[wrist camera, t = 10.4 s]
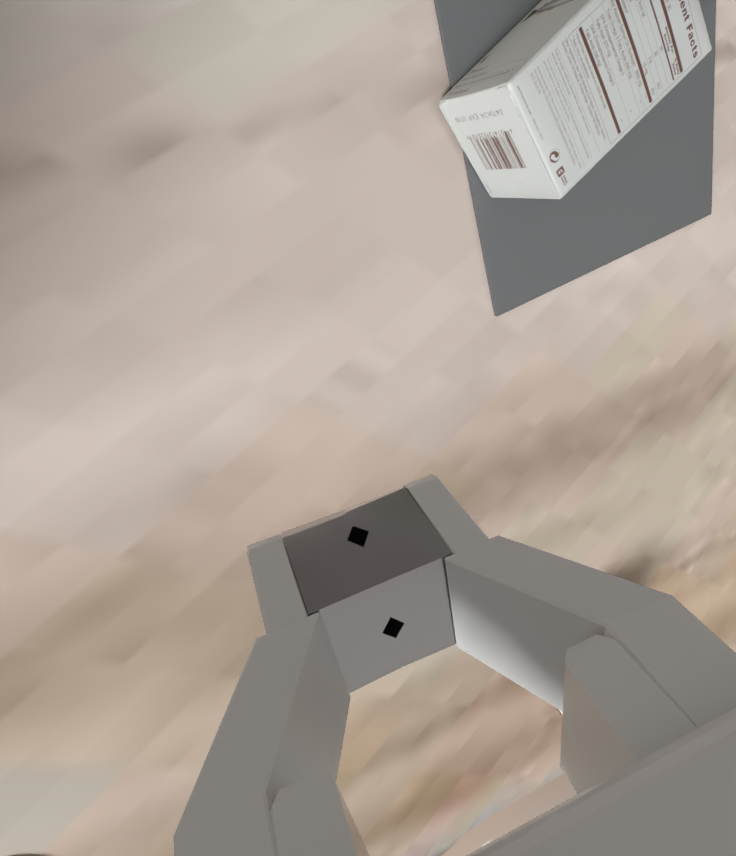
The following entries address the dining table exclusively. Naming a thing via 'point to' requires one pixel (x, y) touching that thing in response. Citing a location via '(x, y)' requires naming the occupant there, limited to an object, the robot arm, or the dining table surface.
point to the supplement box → (570, 89)
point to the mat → (601, 187)
